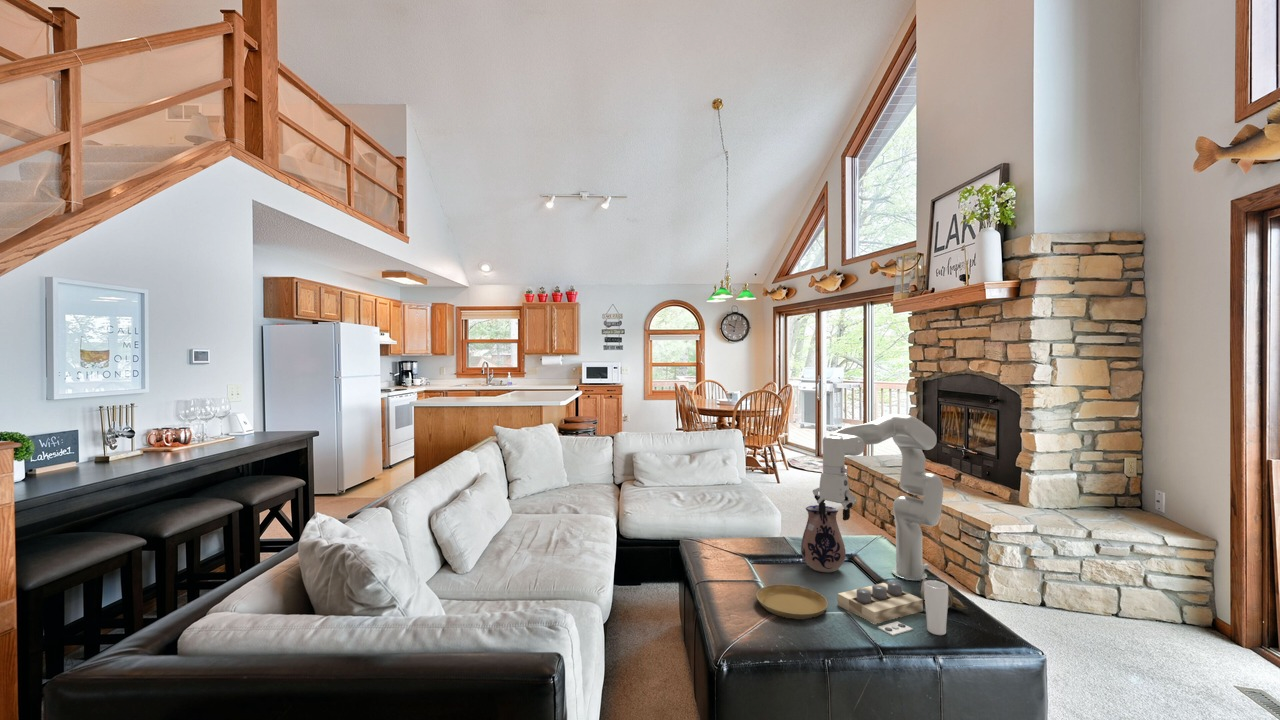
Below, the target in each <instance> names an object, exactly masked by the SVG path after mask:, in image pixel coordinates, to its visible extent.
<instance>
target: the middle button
mask: <svg viewBox="0 0 1280 720" xmlns="http://www.w3.org/2000/svg"><path fill="white" fill-rule="evenodd" d="M871 586H872V585H871ZM872 597H873V598H875V599H877V600H879V601H883V600H887V588H886V587H884V586H880V585H876V584H874V586H872Z"/></svg>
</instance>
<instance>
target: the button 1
mask: <svg viewBox="0 0 1280 720" xmlns="http://www.w3.org/2000/svg"><path fill="white" fill-rule="evenodd" d="M856 589H857V602H859V603H861V604H863V605H867V604H871V592H870V591H869V590H866V589H859V588H856Z"/></svg>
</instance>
